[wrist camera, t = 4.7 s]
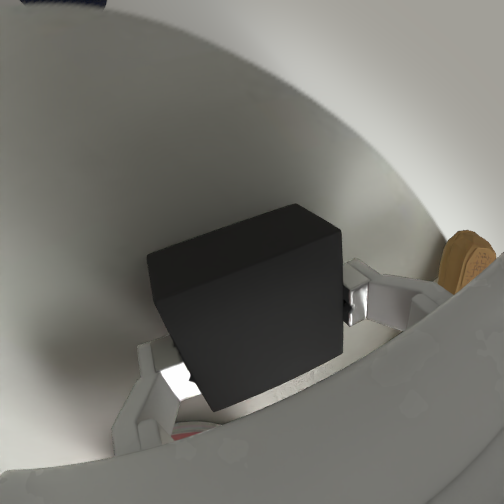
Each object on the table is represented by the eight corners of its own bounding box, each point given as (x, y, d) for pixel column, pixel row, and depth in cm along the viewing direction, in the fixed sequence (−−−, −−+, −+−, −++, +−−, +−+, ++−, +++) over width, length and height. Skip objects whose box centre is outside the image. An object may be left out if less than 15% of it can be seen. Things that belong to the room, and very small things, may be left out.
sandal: (457, 433, 16) (430, 403, 21) (517, 239, 14) (473, 232, 19) (393, 451, 16) (369, 413, 21) (457, 227, 14) (412, 221, 19)
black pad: (145, 254, 10) (152, 301, 8) (296, 202, 12) (342, 229, 9) (195, 363, 13) (213, 413, 11) (309, 315, 15) (343, 353, 12)
